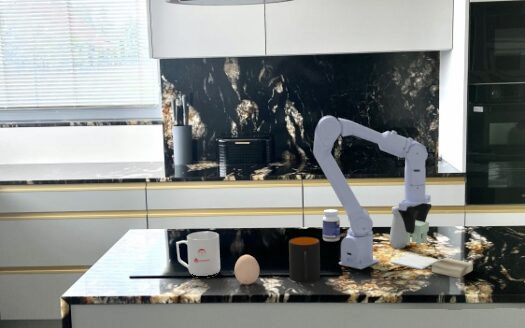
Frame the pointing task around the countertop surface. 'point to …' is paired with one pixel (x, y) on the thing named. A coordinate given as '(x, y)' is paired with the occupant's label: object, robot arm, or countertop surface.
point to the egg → (246, 269)
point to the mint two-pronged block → (418, 233)
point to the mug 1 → (202, 253)
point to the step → (452, 267)
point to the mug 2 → (304, 259)
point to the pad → (414, 261)
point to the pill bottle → (331, 225)
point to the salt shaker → (397, 230)
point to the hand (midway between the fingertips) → (414, 230)
